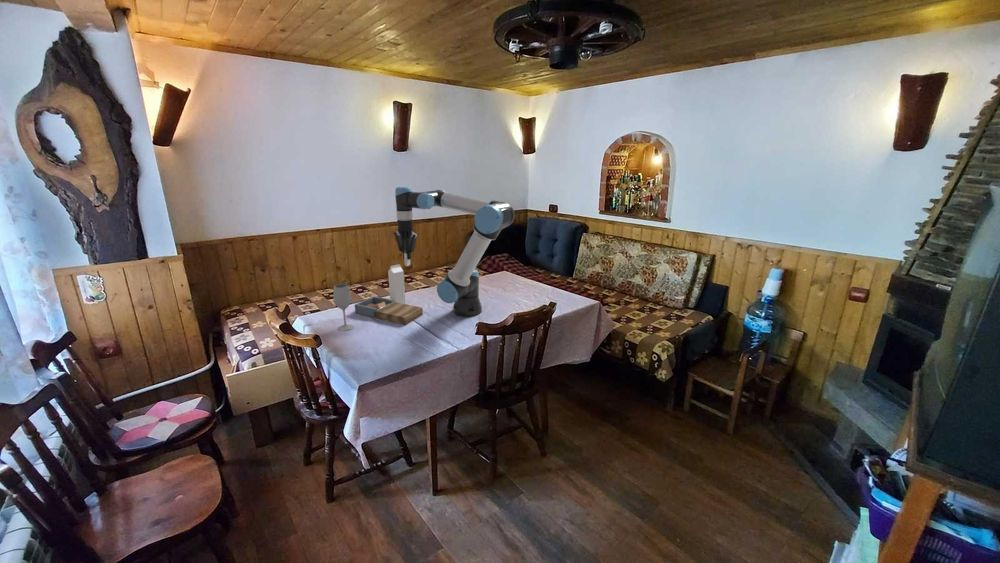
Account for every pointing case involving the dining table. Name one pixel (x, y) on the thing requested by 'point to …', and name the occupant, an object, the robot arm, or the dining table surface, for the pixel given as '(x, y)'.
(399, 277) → the milk
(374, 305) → the tile
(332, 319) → the dining table surface
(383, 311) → the board
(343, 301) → the wineglass
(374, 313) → the tray
